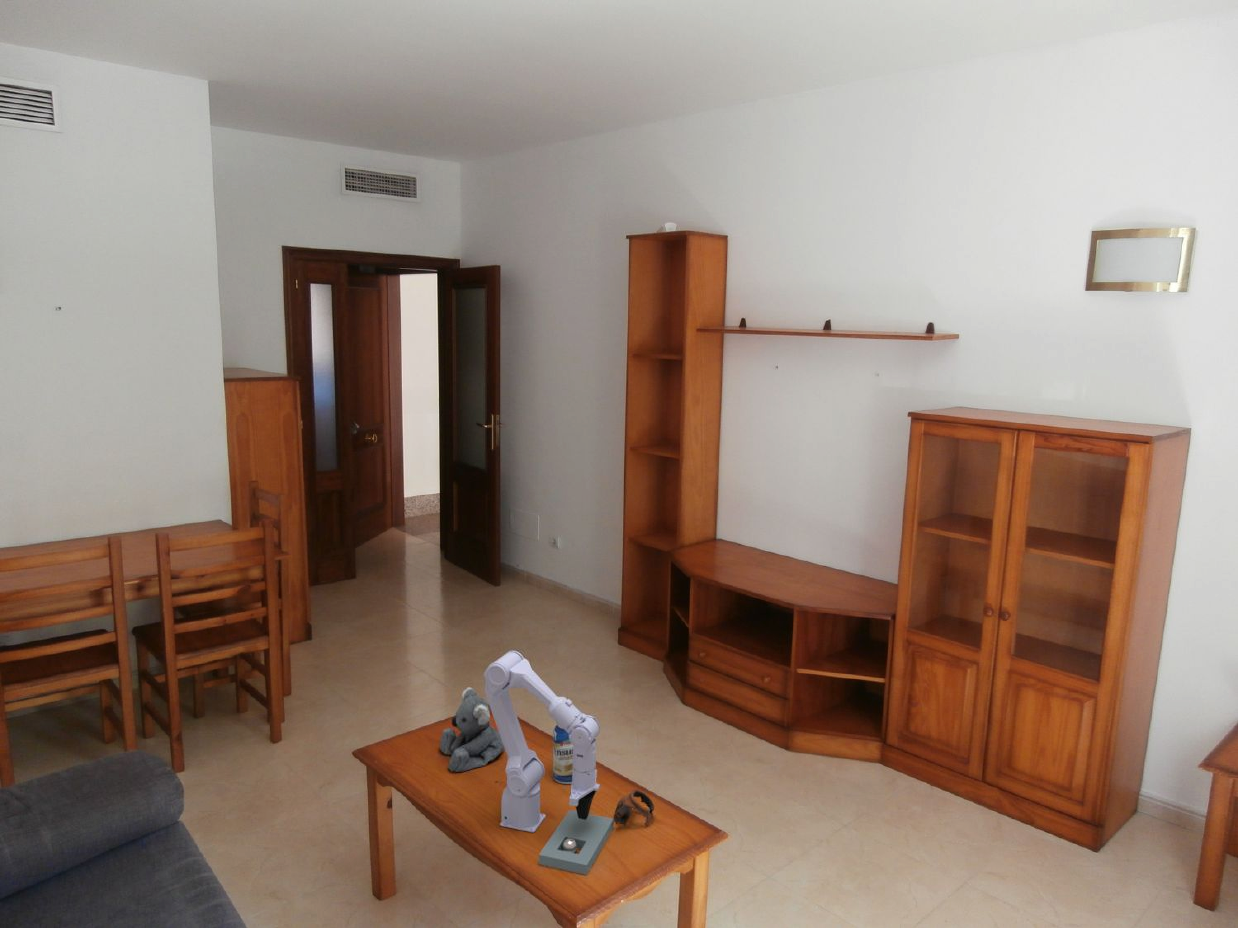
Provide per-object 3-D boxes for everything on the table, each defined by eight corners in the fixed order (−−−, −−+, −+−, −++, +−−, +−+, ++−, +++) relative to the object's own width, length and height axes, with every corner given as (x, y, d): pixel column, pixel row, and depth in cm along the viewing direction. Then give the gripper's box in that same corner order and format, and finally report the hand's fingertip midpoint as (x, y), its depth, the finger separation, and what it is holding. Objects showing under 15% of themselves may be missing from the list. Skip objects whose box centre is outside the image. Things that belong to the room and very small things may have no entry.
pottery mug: (621, 807, 227) (638, 783, 226) (646, 833, 223) (663, 809, 221) (598, 817, 217) (615, 792, 215) (624, 845, 212) (642, 820, 211)
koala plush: (437, 748, 256) (436, 687, 253) (495, 737, 263) (495, 677, 260) (451, 776, 240) (450, 711, 237) (512, 763, 248) (512, 700, 245)
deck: (538, 864, 202) (538, 854, 201) (569, 818, 220) (569, 809, 220) (586, 874, 198) (586, 865, 198) (613, 827, 217) (613, 818, 216)
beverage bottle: (584, 770, 244) (585, 704, 241) (579, 786, 236) (580, 718, 233) (555, 768, 245) (555, 702, 242) (549, 784, 237) (550, 716, 234)
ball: (560, 853, 204) (560, 838, 206) (565, 855, 207) (565, 840, 209) (574, 852, 203) (574, 836, 205) (579, 854, 206) (578, 838, 208)
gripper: (589, 784, 202) (588, 836, 204) (608, 755, 216) (607, 805, 218) (561, 778, 204) (560, 830, 206) (582, 750, 218) (581, 799, 220)
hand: (583, 817), depth 212 cm, fingers closed
